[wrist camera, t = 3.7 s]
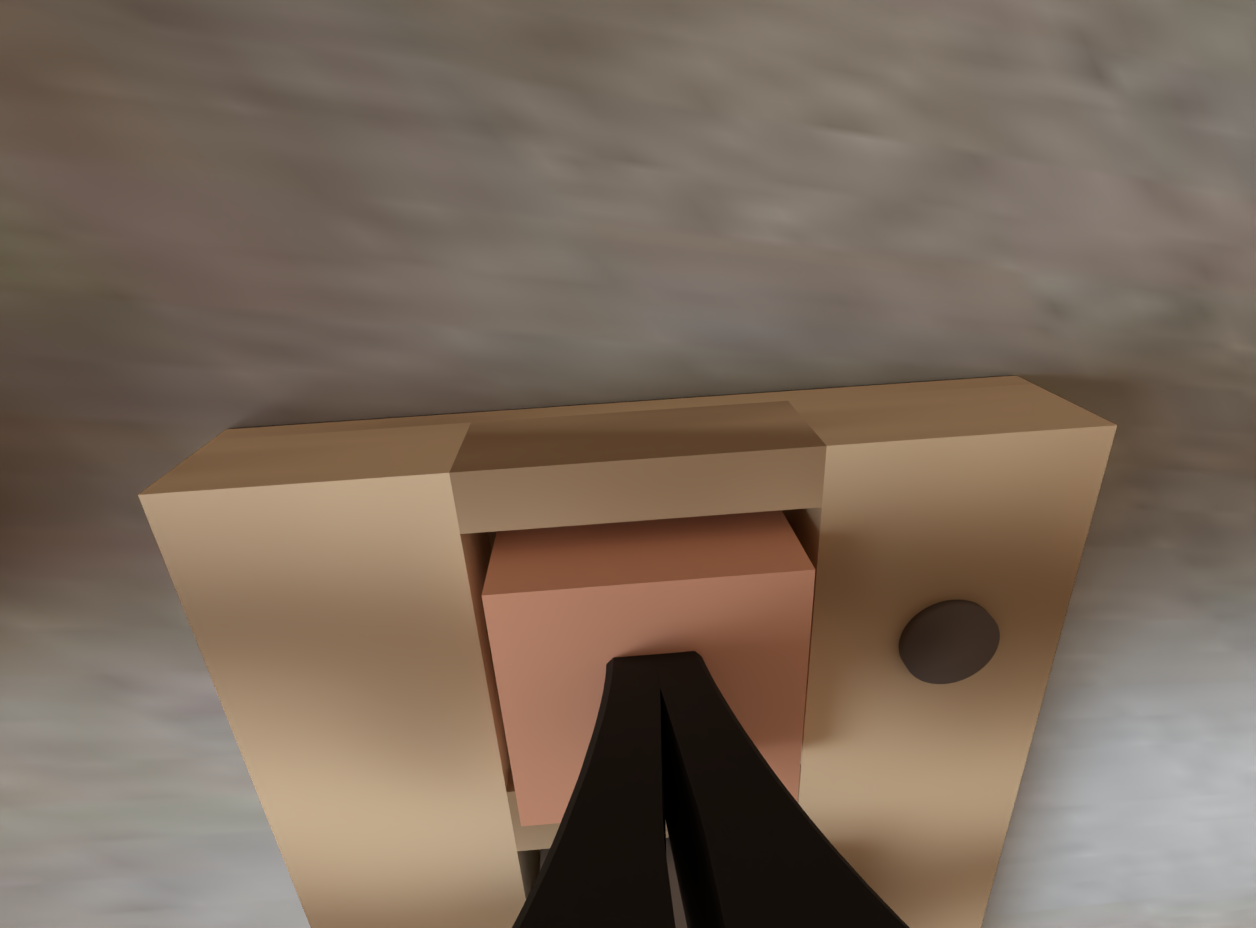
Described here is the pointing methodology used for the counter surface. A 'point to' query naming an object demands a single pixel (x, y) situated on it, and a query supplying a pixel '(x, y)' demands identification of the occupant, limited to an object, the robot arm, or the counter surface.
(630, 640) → the key terracotta
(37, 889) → the counter surface
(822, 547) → the tan wooden slotted tray
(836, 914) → the robot arm
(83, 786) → the counter surface
